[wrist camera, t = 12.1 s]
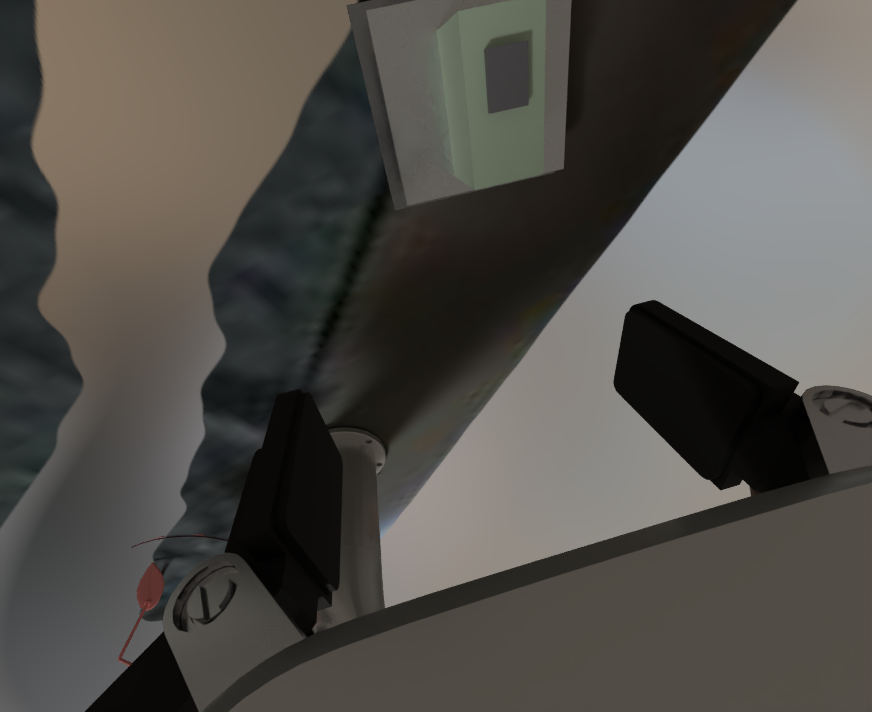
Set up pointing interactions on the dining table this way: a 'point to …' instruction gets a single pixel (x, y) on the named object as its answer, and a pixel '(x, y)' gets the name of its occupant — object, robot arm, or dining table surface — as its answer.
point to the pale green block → (495, 91)
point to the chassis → (437, 91)
